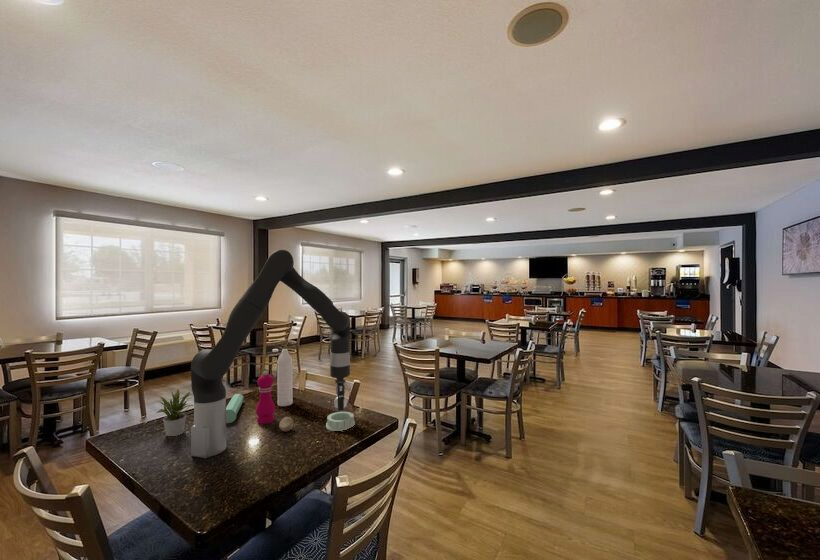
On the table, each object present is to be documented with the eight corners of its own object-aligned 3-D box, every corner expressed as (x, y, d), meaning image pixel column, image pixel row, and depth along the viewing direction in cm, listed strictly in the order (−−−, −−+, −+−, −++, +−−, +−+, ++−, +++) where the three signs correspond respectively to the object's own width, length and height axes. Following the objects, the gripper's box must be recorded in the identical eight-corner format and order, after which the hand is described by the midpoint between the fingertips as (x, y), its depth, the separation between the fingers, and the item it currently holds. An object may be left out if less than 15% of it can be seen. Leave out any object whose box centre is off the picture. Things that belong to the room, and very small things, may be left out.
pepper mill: (270, 424, 137) (270, 373, 137) (252, 424, 137) (252, 373, 137) (278, 417, 144) (277, 368, 144) (260, 417, 145) (260, 368, 145)
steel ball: (343, 411, 133) (343, 398, 133) (331, 410, 135) (331, 397, 135) (349, 407, 138) (349, 394, 138) (338, 405, 139) (338, 393, 139)
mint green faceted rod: (234, 389, 162) (223, 407, 139) (247, 393, 164) (239, 411, 140) (229, 402, 162) (217, 422, 138) (242, 405, 163) (232, 425, 139)
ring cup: (346, 433, 129) (346, 423, 129) (320, 429, 132) (320, 420, 132) (359, 421, 140) (359, 413, 140) (335, 418, 143) (335, 409, 143)
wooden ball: (287, 434, 128) (287, 420, 128) (276, 432, 130) (276, 419, 130) (296, 429, 133) (296, 415, 133) (285, 427, 135) (285, 414, 135)
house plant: (206, 433, 130) (206, 389, 130) (162, 447, 119) (161, 399, 119) (191, 423, 139) (191, 382, 139) (149, 435, 128) (149, 390, 128)
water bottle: (294, 401, 164) (293, 347, 164) (290, 406, 157) (290, 350, 157) (274, 402, 163) (274, 348, 163) (270, 407, 156) (270, 350, 156)
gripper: (351, 367, 130) (351, 413, 130) (348, 358, 144) (349, 400, 144) (330, 368, 128) (330, 415, 128) (330, 360, 142) (330, 401, 142)
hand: (340, 407), depth 136 cm, fingers closed on steel ball, 5 cm apart
